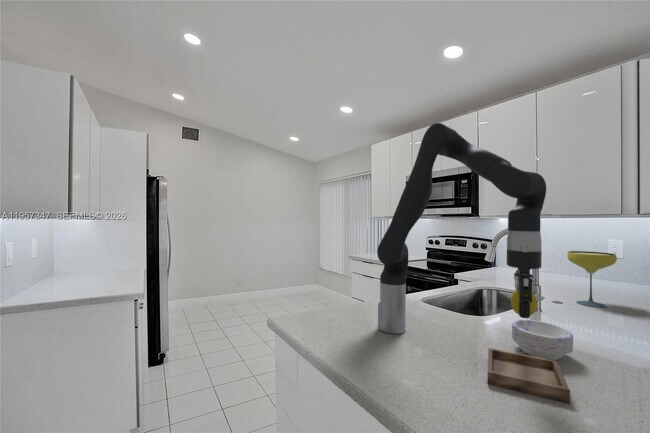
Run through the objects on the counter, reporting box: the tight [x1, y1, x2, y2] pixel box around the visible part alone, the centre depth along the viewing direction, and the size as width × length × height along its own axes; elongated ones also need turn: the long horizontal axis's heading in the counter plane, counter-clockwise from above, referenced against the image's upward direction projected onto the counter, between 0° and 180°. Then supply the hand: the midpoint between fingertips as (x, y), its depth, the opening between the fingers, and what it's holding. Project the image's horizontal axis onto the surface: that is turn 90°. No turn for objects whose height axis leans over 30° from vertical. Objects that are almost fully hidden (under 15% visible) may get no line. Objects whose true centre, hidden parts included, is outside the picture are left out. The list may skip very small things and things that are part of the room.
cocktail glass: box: [566, 250, 618, 308], centre depth 147 cm, size 18×18×25 cm
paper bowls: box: [511, 319, 574, 361], centre depth 92 cm, size 15×15×8 cm
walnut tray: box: [487, 347, 571, 405], centre depth 77 cm, size 16×16×3 cm
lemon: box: [510, 289, 538, 316], centre depth 78 cm, size 6×6×8 cm
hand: (523, 313), depth 78 cm, fingers closed on lemon, 5 cm apart
